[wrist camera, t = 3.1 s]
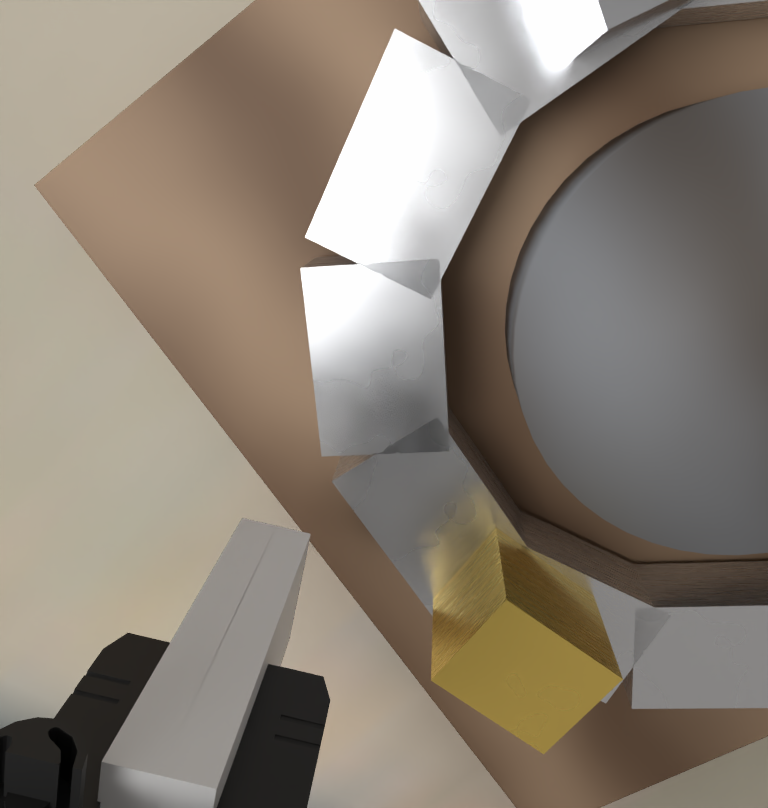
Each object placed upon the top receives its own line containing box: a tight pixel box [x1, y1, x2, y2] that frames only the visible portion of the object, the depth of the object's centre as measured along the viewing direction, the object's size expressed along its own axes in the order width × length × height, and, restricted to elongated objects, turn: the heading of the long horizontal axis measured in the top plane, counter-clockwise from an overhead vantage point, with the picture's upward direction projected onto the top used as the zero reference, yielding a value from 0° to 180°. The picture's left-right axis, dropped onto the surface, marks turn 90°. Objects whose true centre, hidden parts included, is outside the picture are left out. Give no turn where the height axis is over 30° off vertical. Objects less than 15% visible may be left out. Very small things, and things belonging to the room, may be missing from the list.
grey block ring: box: [301, 0, 768, 754], centre depth 15 cm, size 19×19×5 cm
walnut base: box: [34, 0, 768, 808], centre depth 17 cm, size 24×24×4 cm
